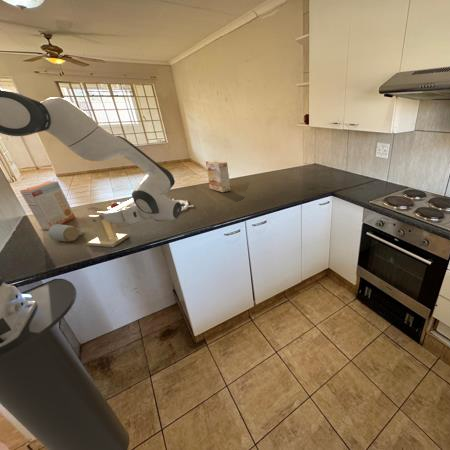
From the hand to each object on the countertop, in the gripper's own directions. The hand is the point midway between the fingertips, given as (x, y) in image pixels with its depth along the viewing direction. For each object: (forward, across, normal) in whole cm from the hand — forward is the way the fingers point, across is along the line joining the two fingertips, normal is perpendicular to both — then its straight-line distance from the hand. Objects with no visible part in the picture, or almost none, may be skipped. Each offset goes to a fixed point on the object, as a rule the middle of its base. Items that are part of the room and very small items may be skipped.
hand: (112, 206), depth 104 cm
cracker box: (+49, -13, +18) cm, 54 cm away
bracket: (+9, 0, +18) cm, 19 cm away
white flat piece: (+4, -38, +18) cm, 42 cm away
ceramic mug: (+28, 0, +18) cm, 33 cm away
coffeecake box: (-13, -73, +17) cm, 76 cm away
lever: (+3, 0, +4) cm, 5 cm away
